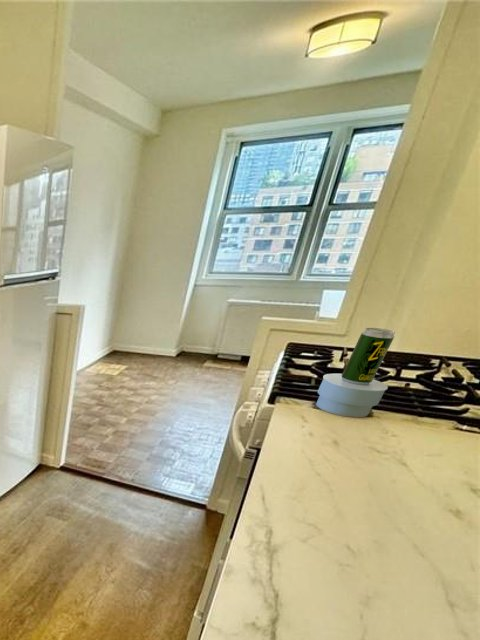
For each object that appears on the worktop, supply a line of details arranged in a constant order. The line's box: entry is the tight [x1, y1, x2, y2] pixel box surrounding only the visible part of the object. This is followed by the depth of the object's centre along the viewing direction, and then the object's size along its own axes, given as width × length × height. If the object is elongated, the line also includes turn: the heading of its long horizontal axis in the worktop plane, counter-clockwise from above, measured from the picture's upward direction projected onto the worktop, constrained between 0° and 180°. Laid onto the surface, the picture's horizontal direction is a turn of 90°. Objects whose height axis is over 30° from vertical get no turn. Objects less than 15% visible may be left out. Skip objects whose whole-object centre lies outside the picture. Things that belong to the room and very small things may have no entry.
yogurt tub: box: [315, 373, 389, 418], centre depth 114 cm, size 11×11×7 cm
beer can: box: [341, 327, 396, 385], centre depth 110 cm, size 5×5×12 cm
